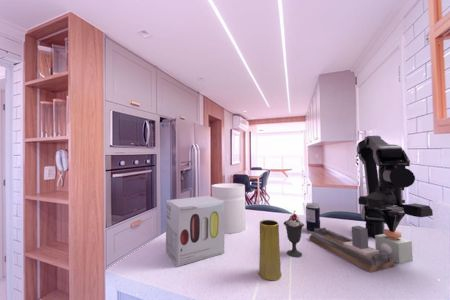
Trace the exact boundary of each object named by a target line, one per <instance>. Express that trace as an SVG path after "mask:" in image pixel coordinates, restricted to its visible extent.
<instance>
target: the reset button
mask: <svg viewBox="0 0 450 300" xmlns="http://www.w3.org/2000/svg"><path fill="white" fill-rule="evenodd" d="M384 235H386V236H389V239H391V240H394V241H395V240H397V238H402V232H401V231H399V230H397V229H396V230H395V231H394V232H391V231H390V230H389V228H386V229H385V228H384Z"/></svg>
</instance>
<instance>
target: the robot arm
mask: <svg viewBox="0 0 450 300" xmlns="http://www.w3.org/2000/svg"><path fill="white" fill-rule="evenodd" d="M356 154H357V155H358V159H359V160H360V161H361V162H362V164H363V168H364V169H363V170H364V177H365V187H366V195H362V196H361V195H360V196H359V197H358V205H362V208H361V211H360V212H361V213H360V215H361V218H362V220H363V221H365V228H367V231H368V237H372V238H374V239H375V235H381V234H384V229H385V224H386V226H387V229H389V230H390V231H391V232H394V231H395V230H396V231H397V228H398V226H399V225H400V222H401V221H402V219H403V218H404V217H405V216H406V215H407V216H411V217H416V218H427V217H433V215H434V213H433V208H431V206H430V205H426V204H420V203H414V202H413V203H408V204H405V203H406V200H405V199H403V193H402V192H403V191H405V188H408V187H411V186H413V184H415V181H416V175H415V174H414V172H412V170H410V168H409V169H408V168H407V167H411V165H410V163H411V160H410V159H409V157H408V155H407V152H406V151H405V149H404V148H403V147H402V146H401V145H398V144H390V143H388V142H386V141H385V140H384V139H382V137H381V136H380V135H366V136H365V137H364V139H362V140H361V141H359V142H358V143H357V145H356Z"/></svg>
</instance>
